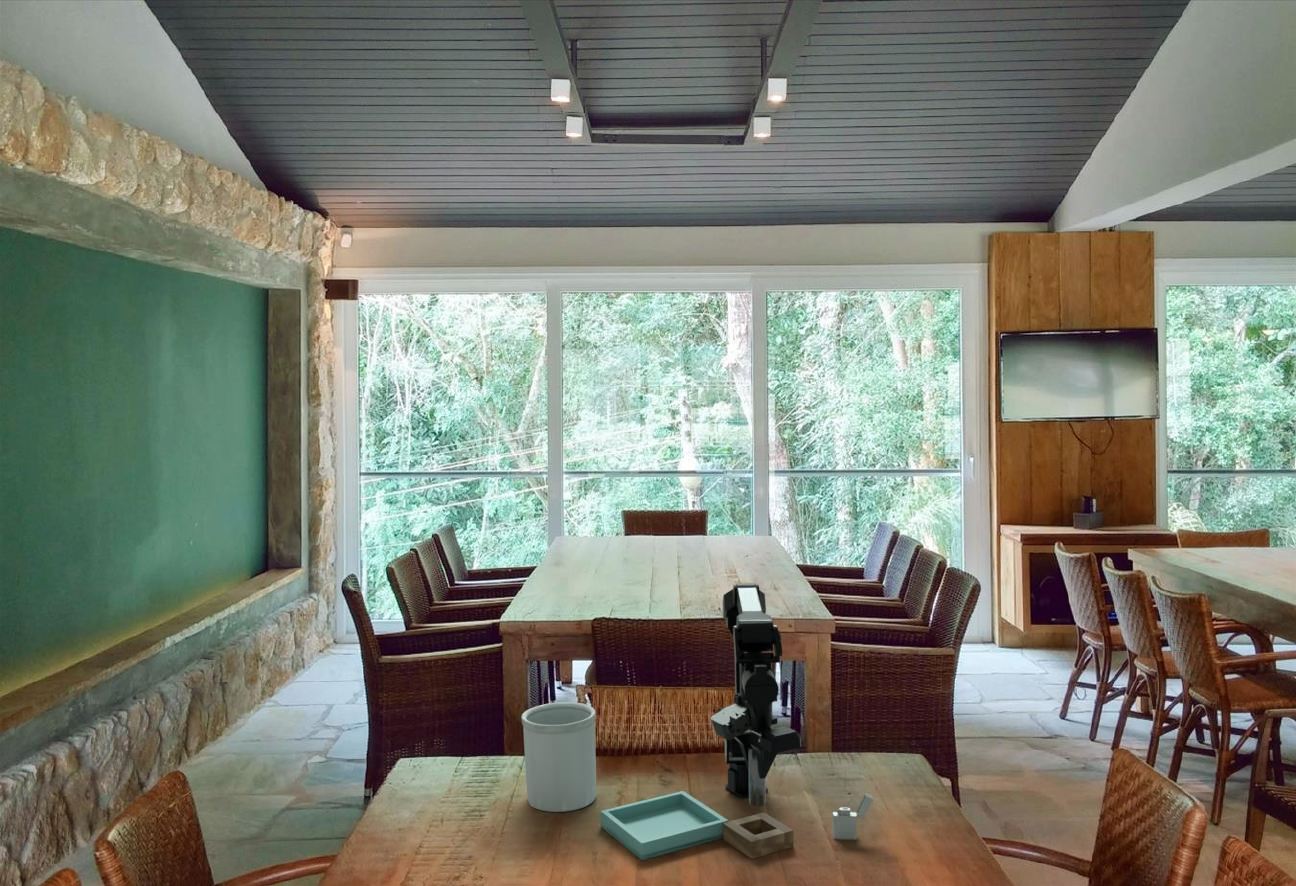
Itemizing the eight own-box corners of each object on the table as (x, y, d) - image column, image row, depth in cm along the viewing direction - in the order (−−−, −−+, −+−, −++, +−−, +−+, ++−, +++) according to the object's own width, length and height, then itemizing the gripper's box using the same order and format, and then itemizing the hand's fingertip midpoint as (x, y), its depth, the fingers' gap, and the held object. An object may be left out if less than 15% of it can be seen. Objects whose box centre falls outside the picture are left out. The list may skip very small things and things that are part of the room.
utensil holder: (510, 808, 201) (507, 720, 200) (545, 780, 214) (543, 698, 213) (577, 818, 195) (575, 728, 194) (609, 789, 209) (607, 705, 208)
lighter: (833, 839, 184) (833, 795, 184) (832, 834, 186) (832, 791, 185) (873, 839, 184) (873, 796, 183) (872, 835, 185) (872, 792, 185)
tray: (683, 805, 200) (682, 790, 200) (728, 836, 186) (728, 820, 186) (600, 826, 191) (600, 810, 191) (642, 860, 177) (641, 843, 177)
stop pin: (759, 798, 185) (758, 743, 184) (769, 803, 182) (768, 748, 182) (745, 801, 183) (745, 746, 183) (755, 807, 181) (754, 752, 180)
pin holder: (763, 828, 189) (763, 812, 189) (793, 846, 181) (793, 830, 181) (723, 839, 185) (723, 823, 185) (751, 858, 177) (751, 842, 177)
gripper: (689, 683, 186) (691, 767, 187) (748, 710, 169) (750, 802, 170) (740, 674, 191) (741, 756, 192) (802, 699, 175) (803, 789, 176)
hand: (757, 775), depth 182 cm, fingers closed on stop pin, 3 cm apart
